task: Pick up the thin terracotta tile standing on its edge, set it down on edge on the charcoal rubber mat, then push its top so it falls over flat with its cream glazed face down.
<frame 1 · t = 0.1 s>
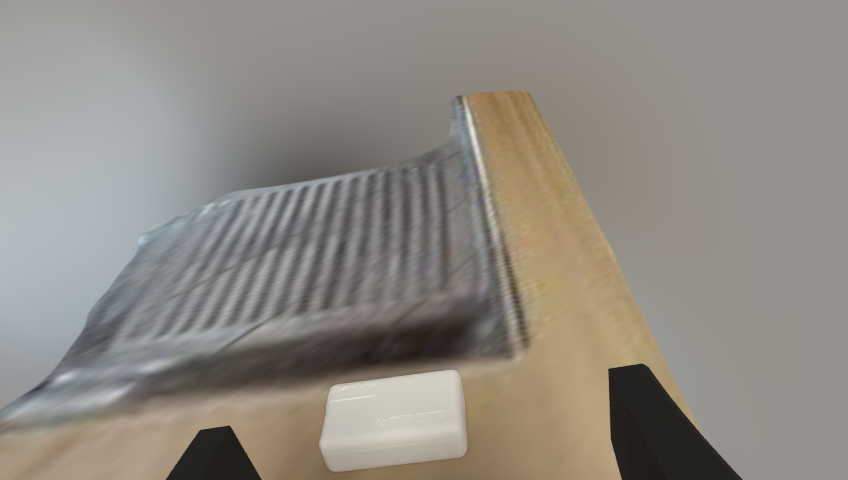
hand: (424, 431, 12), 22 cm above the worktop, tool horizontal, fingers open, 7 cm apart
soap: (400, 437, 41), on the worktop
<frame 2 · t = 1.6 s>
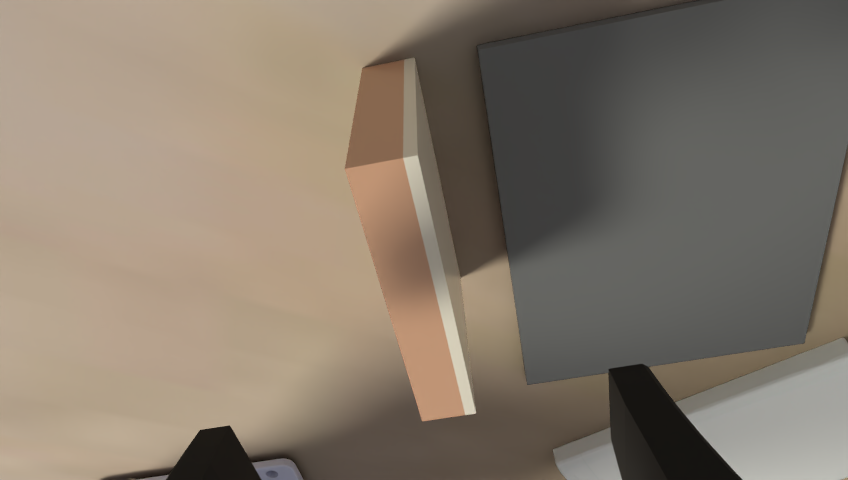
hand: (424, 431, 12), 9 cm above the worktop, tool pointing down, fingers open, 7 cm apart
mat: (664, 214, 20), on the worktop
external hard drive: (710, 434, 28), on the worktop
tile: (416, 183, 20), on the worktop
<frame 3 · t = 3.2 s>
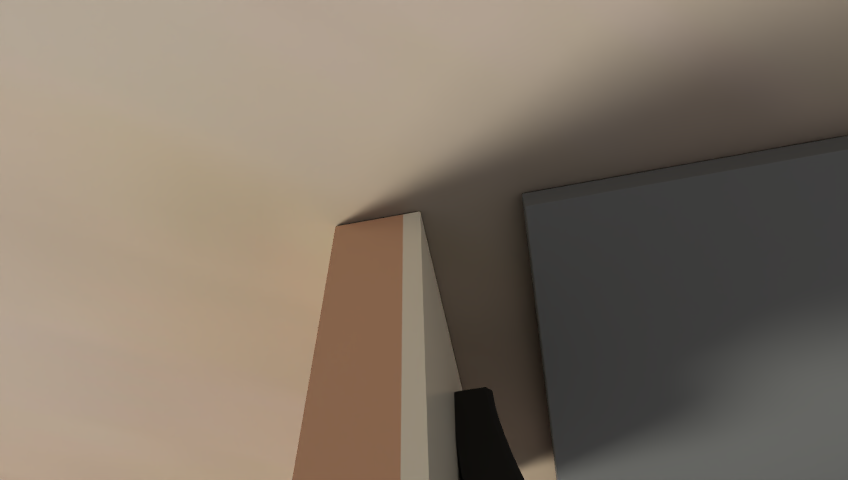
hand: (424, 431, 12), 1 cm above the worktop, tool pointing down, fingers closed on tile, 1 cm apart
mat: (787, 407, 14), on the worktop
tile: (422, 375, 13), on the worktop, touching gripper
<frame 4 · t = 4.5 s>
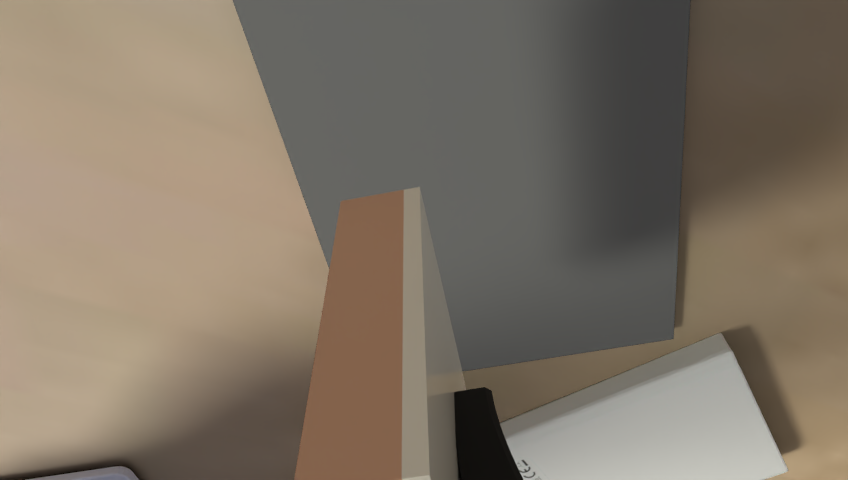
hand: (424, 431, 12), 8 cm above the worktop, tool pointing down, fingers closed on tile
mat: (492, 191, 18), on the worktop
external hard drive: (595, 439, 26), on the worktop
tile: (421, 346, 14), point 6 cm above the worktop, touching gripper
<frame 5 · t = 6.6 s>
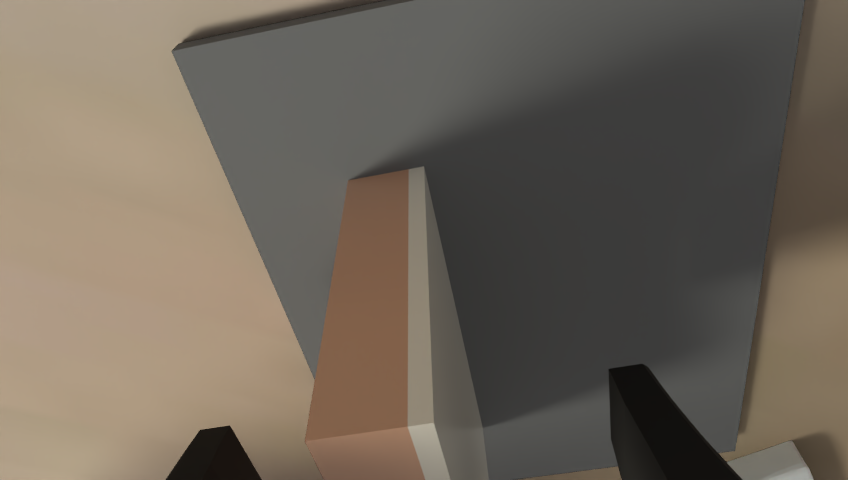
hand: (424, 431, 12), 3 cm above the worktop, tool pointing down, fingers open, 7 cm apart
mat: (518, 287, 14), on the worktop
tile: (425, 323, 14), resting on mat
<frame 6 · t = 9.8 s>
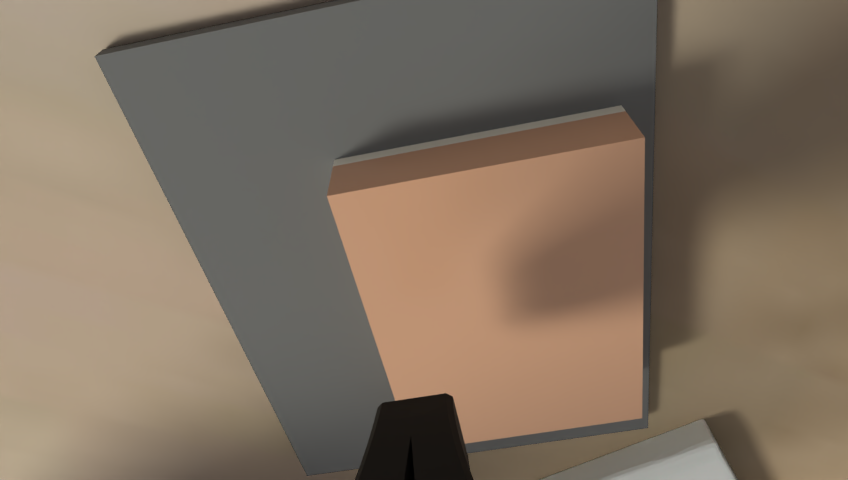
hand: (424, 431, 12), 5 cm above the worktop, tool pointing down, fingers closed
mat: (432, 273, 15), on the worktop
tile: (377, 321, 15), point 1 cm above the worktop, tilted 90°, touching mat
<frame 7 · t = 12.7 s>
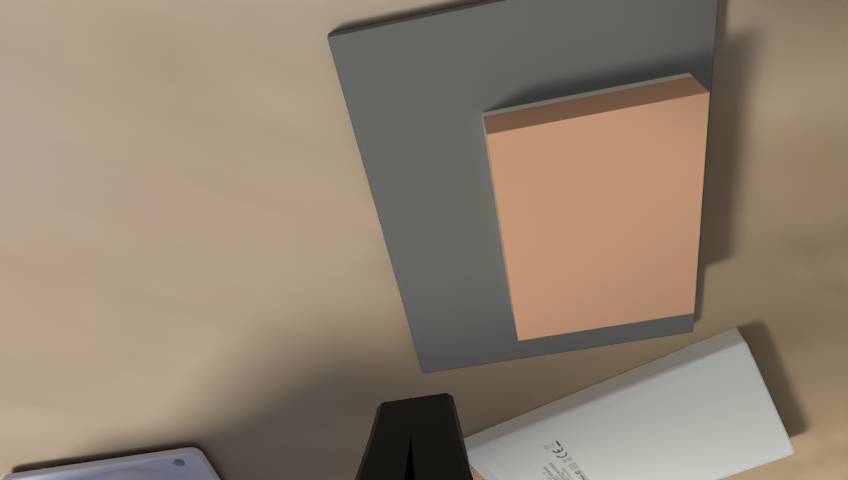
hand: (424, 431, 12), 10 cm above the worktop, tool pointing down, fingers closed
mat: (538, 202, 21), on the worktop
external hard drive: (620, 424, 28), on the worktop
tile: (501, 236, 20), point 1 cm above the worktop, tilted 90°, touching mat
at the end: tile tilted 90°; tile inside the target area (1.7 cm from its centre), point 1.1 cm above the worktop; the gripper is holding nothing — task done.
